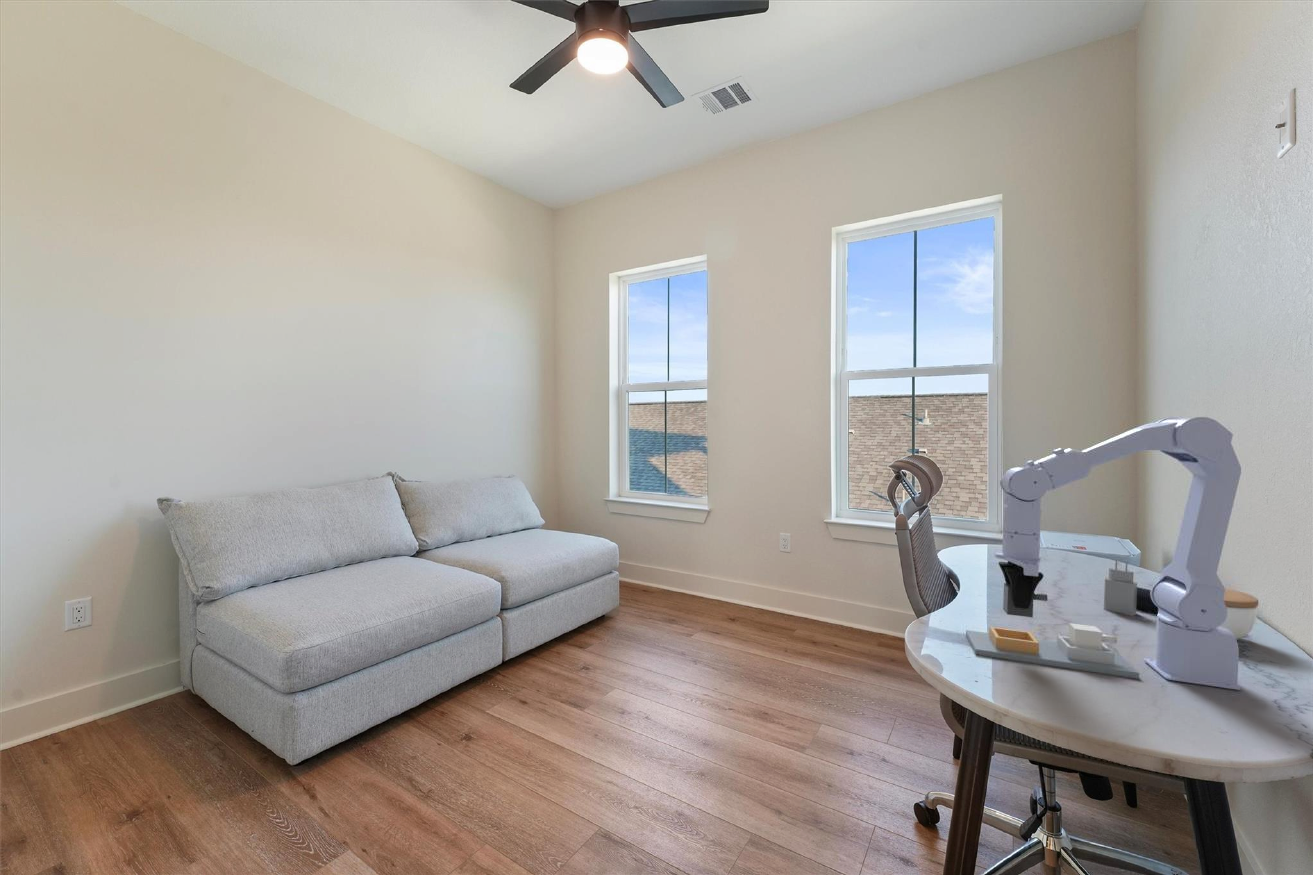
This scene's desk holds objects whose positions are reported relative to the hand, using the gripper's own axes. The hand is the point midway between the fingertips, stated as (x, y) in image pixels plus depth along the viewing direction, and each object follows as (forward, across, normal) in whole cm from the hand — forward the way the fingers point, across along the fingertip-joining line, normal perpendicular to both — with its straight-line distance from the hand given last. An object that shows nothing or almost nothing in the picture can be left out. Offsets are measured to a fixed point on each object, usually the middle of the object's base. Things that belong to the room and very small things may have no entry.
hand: (1018, 604), depth 100 cm
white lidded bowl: (+9, -26, +40) cm, 48 cm away
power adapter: (+9, -36, +29) cm, 47 cm away
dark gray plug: (+2, 0, +1) cm, 2 cm away
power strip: (+9, -1, +4) cm, 10 cm away
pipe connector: (+9, -40, +41) cm, 58 cm away
